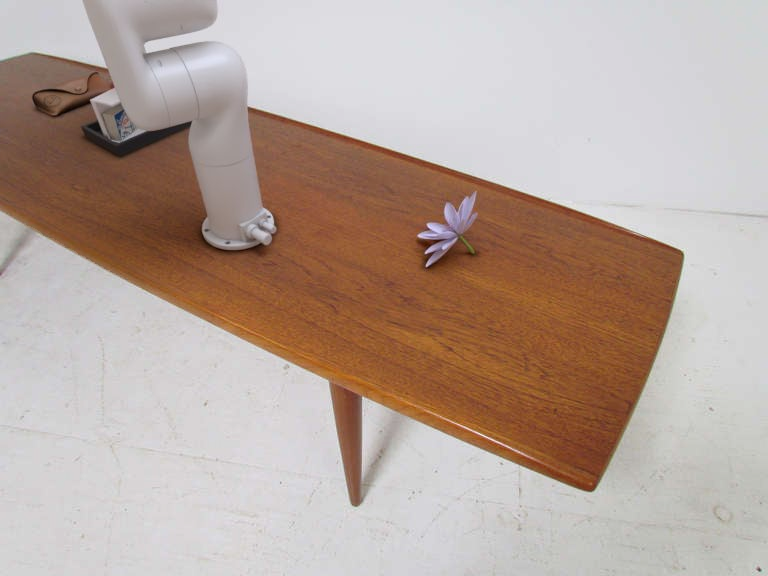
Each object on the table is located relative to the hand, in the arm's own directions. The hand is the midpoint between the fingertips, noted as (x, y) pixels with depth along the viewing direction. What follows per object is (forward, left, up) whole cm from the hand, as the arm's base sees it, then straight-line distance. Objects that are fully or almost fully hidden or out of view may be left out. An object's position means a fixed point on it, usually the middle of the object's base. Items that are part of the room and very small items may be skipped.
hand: (139, 94), depth 110 cm
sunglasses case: (+25, +2, -8) cm, 27 cm away
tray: (0, 0, -8) cm, 8 cm away
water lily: (-77, -7, -8) cm, 77 cm away
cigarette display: (0, 0, -8) cm, 8 cm away
